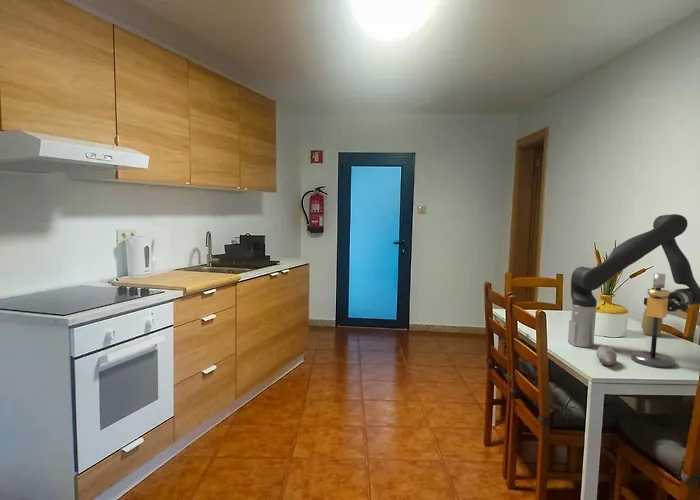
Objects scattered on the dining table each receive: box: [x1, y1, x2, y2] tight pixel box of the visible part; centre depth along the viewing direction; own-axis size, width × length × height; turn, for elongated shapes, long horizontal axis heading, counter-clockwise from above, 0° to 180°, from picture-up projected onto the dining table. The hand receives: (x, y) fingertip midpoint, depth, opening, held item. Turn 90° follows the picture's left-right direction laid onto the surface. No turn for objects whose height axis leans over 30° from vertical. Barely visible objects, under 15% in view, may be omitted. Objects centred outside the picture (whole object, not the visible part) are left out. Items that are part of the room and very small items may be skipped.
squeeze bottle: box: [641, 308, 663, 337], centre depth 214 cm, size 8×8×18 cm
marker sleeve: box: [645, 296, 668, 319], centre depth 175 cm, size 5×5×7 cm
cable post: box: [630, 272, 676, 369], centre depth 175 cm, size 14×14×34 cm
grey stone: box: [595, 344, 618, 366], centre depth 174 cm, size 6×14×8 cm, turn 160°
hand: (659, 306), depth 176 cm, fingers open, 8 cm apart
